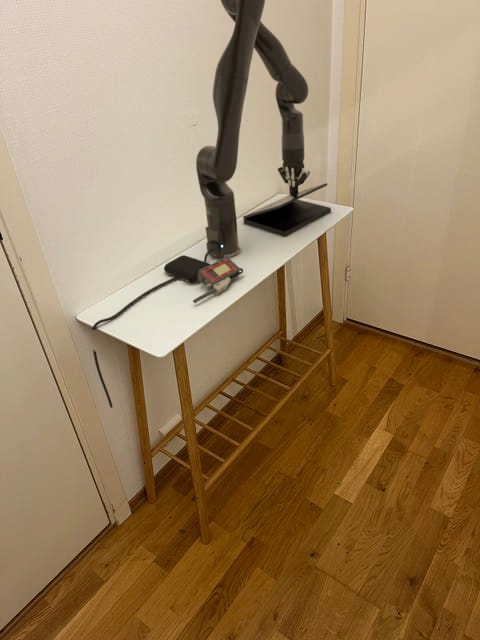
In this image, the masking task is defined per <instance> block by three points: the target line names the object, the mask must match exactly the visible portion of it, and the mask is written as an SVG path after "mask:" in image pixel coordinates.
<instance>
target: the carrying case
mask: <svg viewBox="0 0 480 640" xmlns="http://www.w3.org/2000/svg"><path fill="white" fill-rule="evenodd" d="M210 264H211V263H209V262H207V261H206V262H204V260H201V259H197V258H194V257H191V256H189V255H180V256H178V257H176V258H174V259H173V260H171V261H169V262H166V263H165V265H164V267H163V270H164V272H165V273H166V274H169V275H171V276H174V277H179V278H178V279H180V280H181V281H182V282H187V283H188V282H191V283H193V284H194V283H199V281H198V278H197V277H198V272H199V270H201V269H203V268H205V267H207V266H208V265H210Z"/></svg>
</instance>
